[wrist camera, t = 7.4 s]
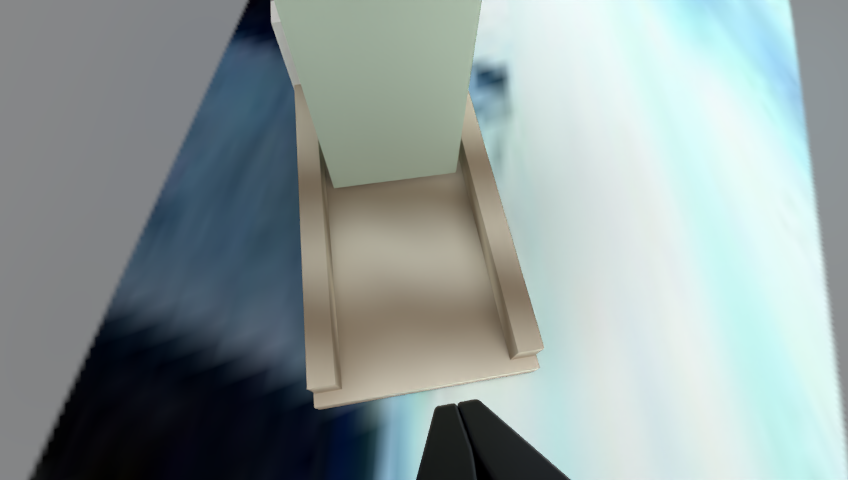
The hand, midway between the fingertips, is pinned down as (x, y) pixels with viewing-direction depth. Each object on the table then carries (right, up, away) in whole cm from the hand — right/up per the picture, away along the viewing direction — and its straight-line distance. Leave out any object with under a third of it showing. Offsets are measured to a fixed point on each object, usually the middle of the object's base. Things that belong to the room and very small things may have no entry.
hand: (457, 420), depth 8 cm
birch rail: (-2, +5, +13) cm, 14 cm away
